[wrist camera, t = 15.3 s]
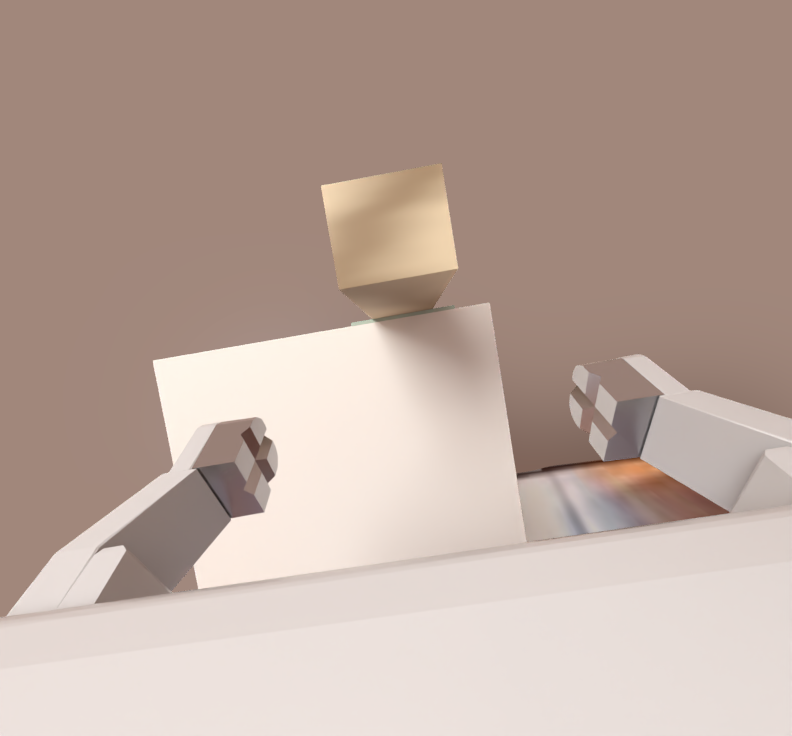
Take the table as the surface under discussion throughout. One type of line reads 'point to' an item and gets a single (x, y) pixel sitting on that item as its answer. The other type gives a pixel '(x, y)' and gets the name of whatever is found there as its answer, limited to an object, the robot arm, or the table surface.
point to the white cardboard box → (359, 443)
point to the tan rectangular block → (392, 240)
